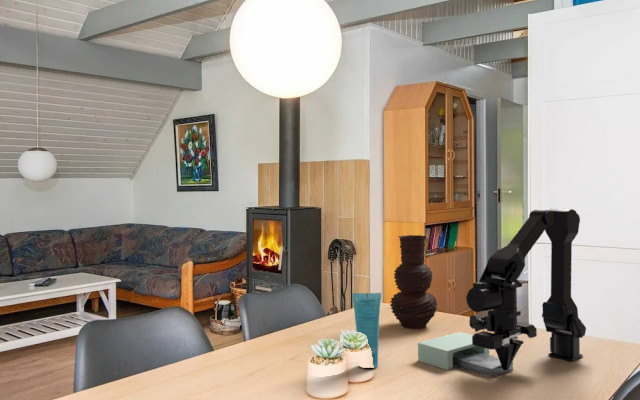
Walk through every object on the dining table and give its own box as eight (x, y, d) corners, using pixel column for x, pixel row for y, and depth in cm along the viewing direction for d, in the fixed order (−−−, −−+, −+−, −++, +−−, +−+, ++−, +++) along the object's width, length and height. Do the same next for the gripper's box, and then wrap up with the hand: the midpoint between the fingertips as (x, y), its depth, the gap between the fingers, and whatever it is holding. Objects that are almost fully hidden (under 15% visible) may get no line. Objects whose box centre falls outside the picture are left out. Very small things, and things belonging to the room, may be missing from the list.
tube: (380, 363, 149) (379, 290, 148) (384, 369, 144) (382, 294, 143) (352, 364, 148) (351, 291, 147) (355, 370, 143) (354, 295, 143)
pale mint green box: (489, 356, 152) (489, 339, 152) (447, 370, 142) (447, 351, 142) (459, 348, 160) (459, 331, 160) (418, 360, 150) (418, 342, 150)
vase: (382, 323, 191) (381, 235, 190) (423, 319, 196) (422, 233, 195) (402, 334, 177) (401, 239, 176) (446, 329, 181) (444, 237, 180)
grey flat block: (512, 370, 142) (512, 361, 142) (491, 377, 136) (491, 368, 136) (455, 353, 156) (455, 345, 156) (434, 360, 151) (433, 351, 150)
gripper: (499, 296, 150) (500, 355, 150) (453, 306, 139) (454, 369, 139) (537, 303, 141) (538, 364, 142) (492, 314, 130) (492, 381, 130)
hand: (505, 369), depth 138 cm, fingers closed
